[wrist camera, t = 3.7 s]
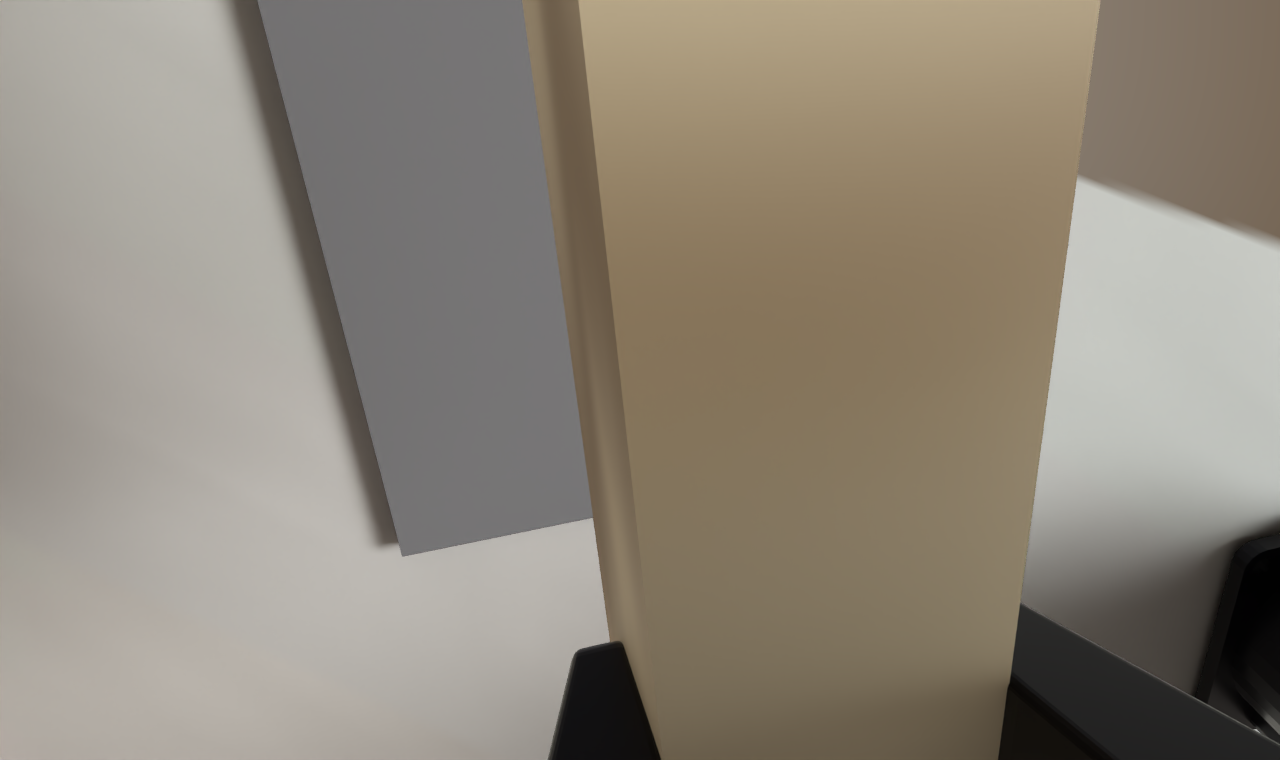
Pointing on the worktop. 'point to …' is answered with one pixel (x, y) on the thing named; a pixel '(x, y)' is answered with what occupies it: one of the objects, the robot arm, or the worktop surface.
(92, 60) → the worktop surface
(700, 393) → the stick
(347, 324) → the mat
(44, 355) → the worktop surface
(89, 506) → the worktop surface
